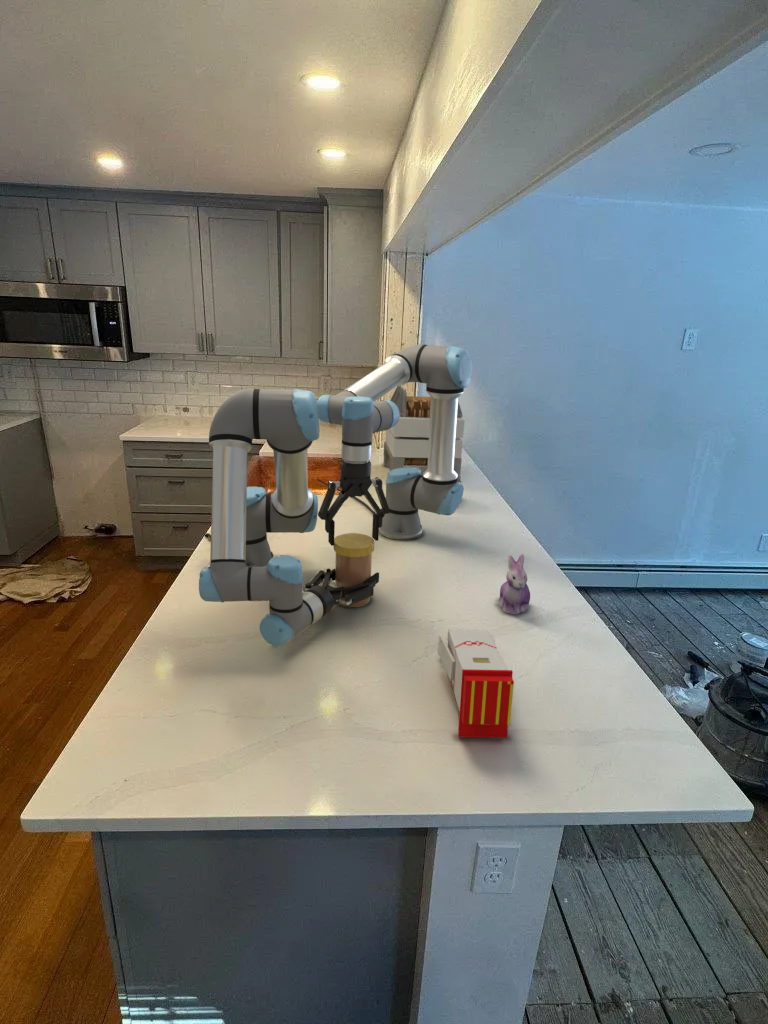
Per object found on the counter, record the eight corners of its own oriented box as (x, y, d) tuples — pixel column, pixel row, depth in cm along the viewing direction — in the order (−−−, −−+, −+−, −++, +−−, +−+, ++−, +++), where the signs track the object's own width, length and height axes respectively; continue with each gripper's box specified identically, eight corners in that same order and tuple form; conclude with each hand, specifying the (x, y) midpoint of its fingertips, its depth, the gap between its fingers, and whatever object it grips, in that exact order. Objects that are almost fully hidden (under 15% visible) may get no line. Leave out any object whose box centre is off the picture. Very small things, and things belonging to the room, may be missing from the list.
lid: (339, 559, 143) (339, 550, 142) (329, 543, 152) (329, 534, 151) (379, 555, 146) (379, 546, 145) (366, 539, 156) (367, 531, 155)
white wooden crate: (382, 463, 289) (386, 382, 275) (445, 464, 293) (451, 384, 279) (390, 482, 257) (394, 392, 243) (460, 483, 261) (468, 394, 247)
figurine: (512, 619, 147) (519, 566, 142) (488, 601, 156) (494, 551, 151) (540, 611, 151) (548, 560, 146) (515, 594, 160) (522, 546, 155)
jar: (339, 609, 149) (341, 551, 143) (331, 592, 157) (331, 537, 151) (374, 604, 152) (377, 547, 146) (364, 588, 160) (365, 534, 154)
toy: (488, 613, 130) (523, 677, 101) (484, 667, 133) (517, 744, 104) (435, 612, 130) (455, 676, 101) (432, 666, 133) (451, 743, 103)
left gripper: (277, 605, 144) (328, 574, 162) (350, 632, 134) (396, 595, 152) (276, 579, 141) (328, 550, 160) (351, 604, 131) (397, 570, 149)
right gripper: (394, 454, 149) (389, 531, 156) (305, 458, 140) (305, 540, 147) (405, 461, 142) (400, 541, 150) (313, 466, 133) (313, 551, 141)
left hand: (361, 572), depth 156 cm, fingers closed on jar, 10 cm apart
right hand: (353, 541), depth 148 cm, fingers open, 11 cm apart
